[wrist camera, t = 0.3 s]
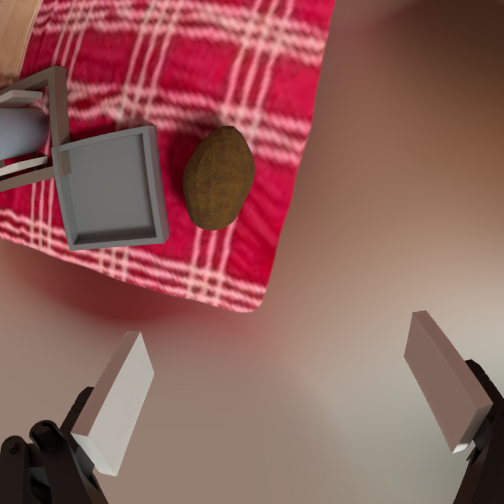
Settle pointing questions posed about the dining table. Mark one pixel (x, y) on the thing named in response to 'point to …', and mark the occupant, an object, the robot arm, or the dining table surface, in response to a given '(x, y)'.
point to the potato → (218, 178)
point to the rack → (59, 121)
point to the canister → (22, 131)
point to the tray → (113, 191)
